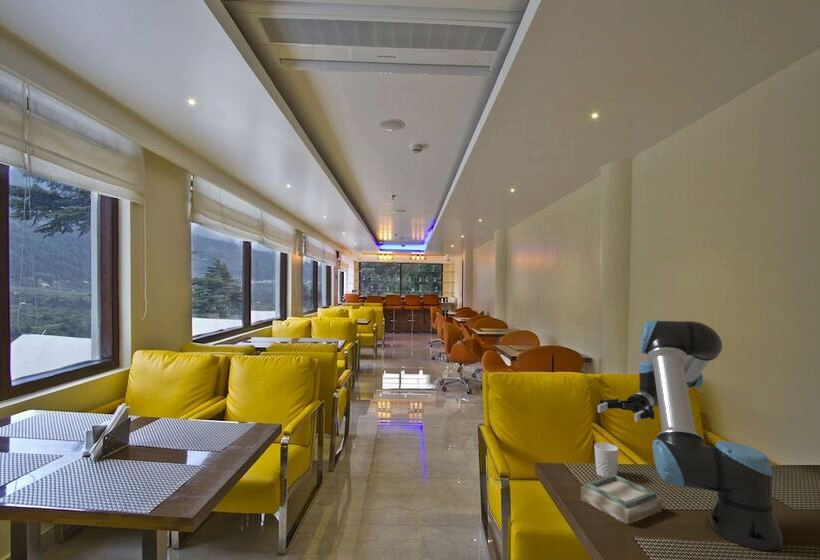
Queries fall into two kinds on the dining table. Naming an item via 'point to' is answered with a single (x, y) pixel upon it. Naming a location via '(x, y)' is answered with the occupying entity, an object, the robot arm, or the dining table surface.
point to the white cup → (606, 459)
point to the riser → (621, 498)
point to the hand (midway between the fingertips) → (616, 413)
